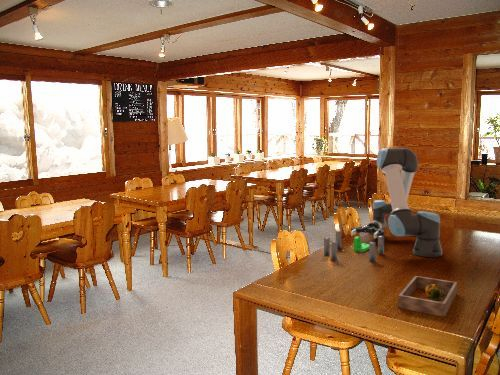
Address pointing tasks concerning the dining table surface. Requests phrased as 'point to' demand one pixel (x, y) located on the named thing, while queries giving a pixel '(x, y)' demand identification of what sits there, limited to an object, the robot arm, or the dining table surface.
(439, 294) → the christmas decoration
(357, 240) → the mechanical part
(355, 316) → the dining table surface
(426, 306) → the wooden tray
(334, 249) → the spacer posts
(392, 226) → the robot arm
